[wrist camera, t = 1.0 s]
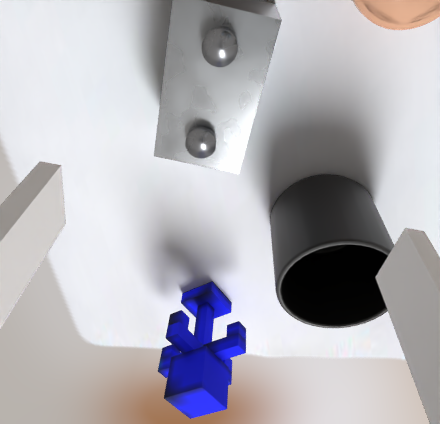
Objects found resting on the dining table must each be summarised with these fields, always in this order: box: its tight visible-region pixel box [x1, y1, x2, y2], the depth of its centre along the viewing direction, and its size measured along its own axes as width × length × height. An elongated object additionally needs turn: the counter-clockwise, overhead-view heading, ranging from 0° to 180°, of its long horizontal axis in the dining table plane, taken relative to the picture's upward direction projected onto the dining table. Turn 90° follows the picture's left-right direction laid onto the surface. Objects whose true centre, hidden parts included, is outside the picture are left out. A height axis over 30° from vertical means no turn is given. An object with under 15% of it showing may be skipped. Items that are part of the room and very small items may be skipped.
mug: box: [270, 175, 394, 328], centre depth 33 cm, size 9×12×9 cm
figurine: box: [158, 282, 246, 419], centre depth 38 cm, size 8×8×12 cm
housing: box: [154, 0, 281, 174], centre depth 26 cm, size 10×6×7 cm, turn 168°
